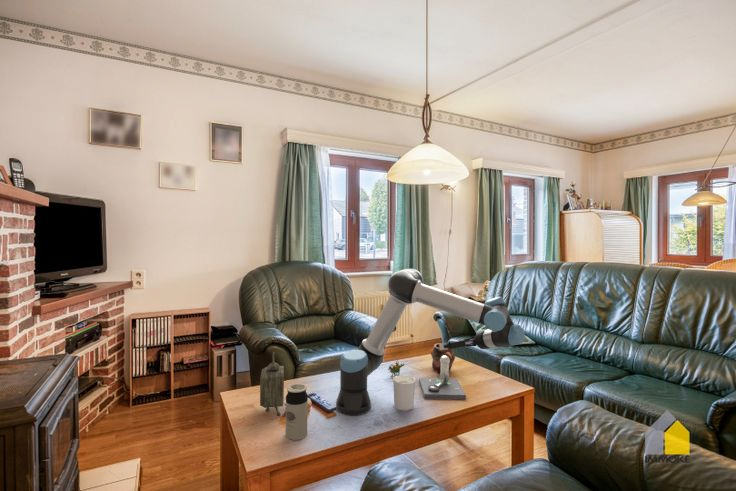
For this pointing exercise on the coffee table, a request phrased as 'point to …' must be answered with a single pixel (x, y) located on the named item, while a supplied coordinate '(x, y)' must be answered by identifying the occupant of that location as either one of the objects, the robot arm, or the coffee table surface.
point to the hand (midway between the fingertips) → (450, 345)
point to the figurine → (395, 368)
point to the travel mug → (296, 411)
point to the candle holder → (404, 392)
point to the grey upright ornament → (272, 386)
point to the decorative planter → (436, 356)
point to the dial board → (442, 389)
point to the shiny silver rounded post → (442, 374)
